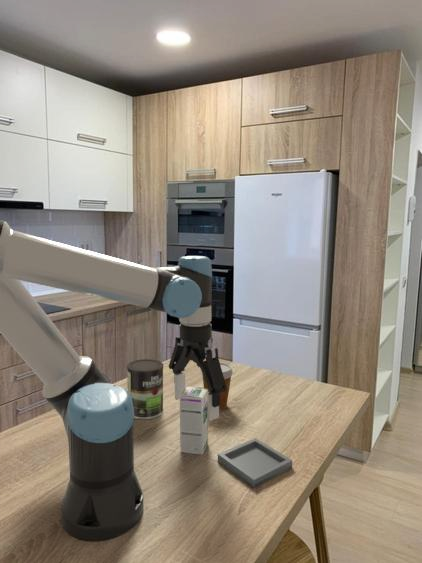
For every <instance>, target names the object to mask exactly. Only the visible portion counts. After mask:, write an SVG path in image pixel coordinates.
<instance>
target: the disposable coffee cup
mask: <svg viewBox="0 0 422 563" xmlns="http://www.w3.org/2000/svg"><path fill="white" fill-rule="evenodd" d="M220 366H221V369H222V373H223V376H224V380H225V383H226V387H227V391H225V392H222V393H220V406H219V411H220V410H224V409H226V408H227V406H228V400H229V399H228V398H229V392H230V386H231V380H232V376H233V374H234V370H233V369H232V366H231V365H230V364H227V363H225V362H220ZM200 373H201V376H202V381H203V384H202V385H203V388H206V389H208V392H210V390H209V387H208V385H207V383H206V380H205V378H204V376H203V373H202V371H201V370H200ZM213 387H214V386H213Z"/></svg>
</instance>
